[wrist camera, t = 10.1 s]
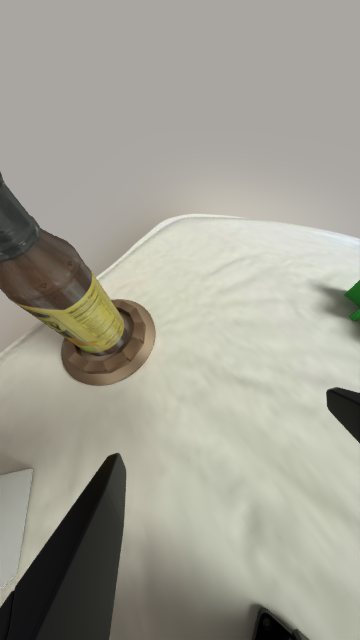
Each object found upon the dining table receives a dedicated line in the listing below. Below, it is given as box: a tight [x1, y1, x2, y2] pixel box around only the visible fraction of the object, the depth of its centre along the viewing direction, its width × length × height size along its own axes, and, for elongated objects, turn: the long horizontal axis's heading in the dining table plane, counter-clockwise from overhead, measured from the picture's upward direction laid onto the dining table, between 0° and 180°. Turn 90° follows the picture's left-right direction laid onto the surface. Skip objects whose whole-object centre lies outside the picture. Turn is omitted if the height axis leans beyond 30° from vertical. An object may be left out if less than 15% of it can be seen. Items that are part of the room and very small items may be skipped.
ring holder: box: [62, 299, 155, 386], centre depth 25 cm, size 13×13×2 cm
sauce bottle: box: [0, 173, 127, 356], centre depth 17 cm, size 6×6×20 cm
